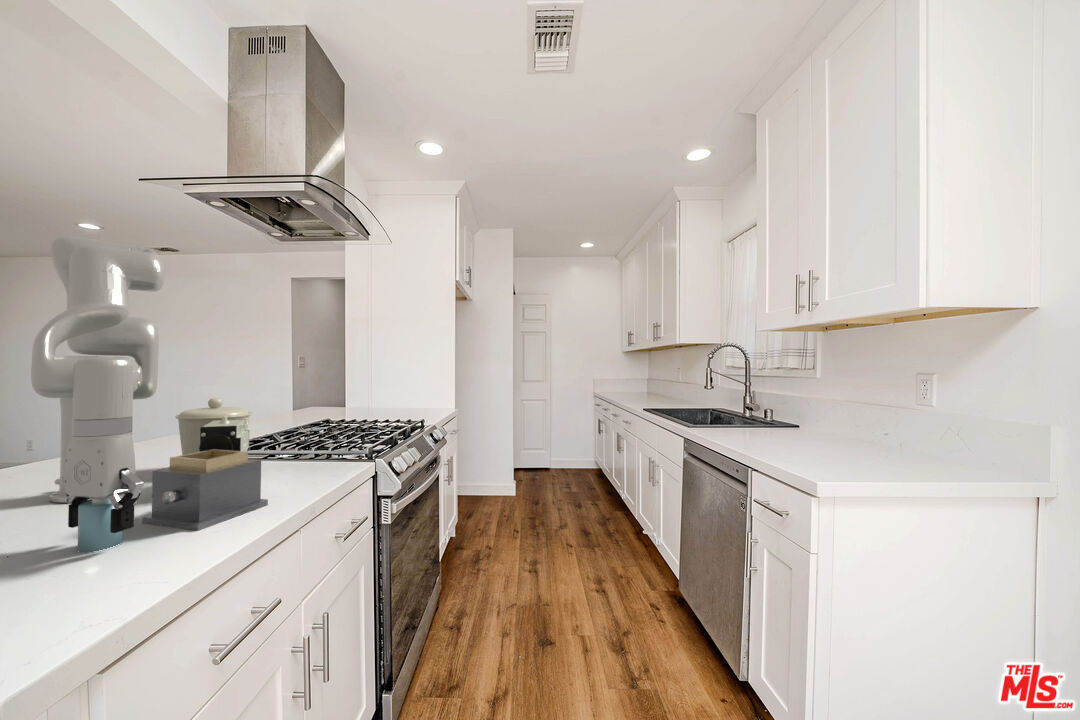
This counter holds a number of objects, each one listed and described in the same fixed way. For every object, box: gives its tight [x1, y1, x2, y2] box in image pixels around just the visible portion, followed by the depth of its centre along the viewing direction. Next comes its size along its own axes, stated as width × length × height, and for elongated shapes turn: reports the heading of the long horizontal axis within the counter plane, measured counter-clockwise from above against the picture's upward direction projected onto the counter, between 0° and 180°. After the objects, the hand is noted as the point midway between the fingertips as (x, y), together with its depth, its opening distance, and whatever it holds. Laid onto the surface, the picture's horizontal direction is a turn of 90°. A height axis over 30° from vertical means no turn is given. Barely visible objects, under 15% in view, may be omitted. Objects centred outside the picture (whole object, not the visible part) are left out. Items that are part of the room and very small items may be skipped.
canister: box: [175, 397, 253, 455], centre depth 131 cm, size 18×18×21 cm
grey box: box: [141, 449, 269, 531], centre depth 95 cm, size 14×17×12 cm
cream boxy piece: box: [199, 416, 250, 452], centre depth 116 cm, size 18×8×18 cm, turn 25°
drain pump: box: [77, 496, 124, 553], centre depth 79 cm, size 6×7×9 cm
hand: (101, 527), depth 78 cm, fingers open, 9 cm apart
